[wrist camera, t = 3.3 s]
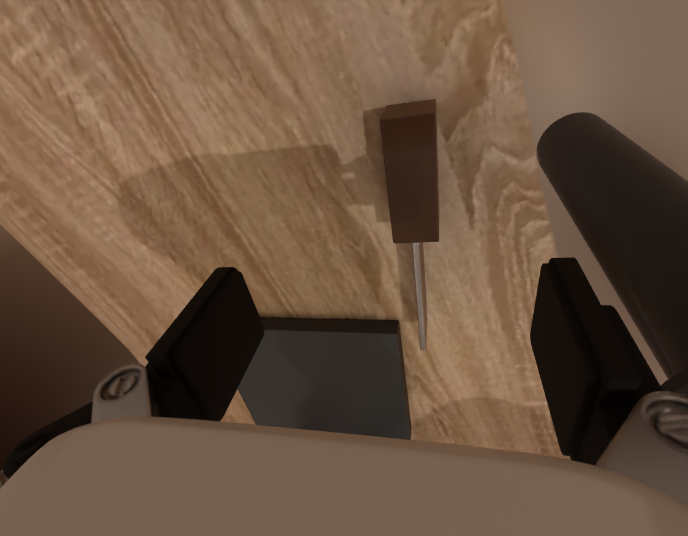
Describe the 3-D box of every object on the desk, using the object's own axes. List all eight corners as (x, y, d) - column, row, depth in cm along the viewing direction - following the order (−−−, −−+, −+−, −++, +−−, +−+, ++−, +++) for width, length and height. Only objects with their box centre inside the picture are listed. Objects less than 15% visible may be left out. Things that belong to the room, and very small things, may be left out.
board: (398, 320, 29) (397, 334, 28) (411, 428, 37) (410, 442, 36) (213, 316, 33) (205, 327, 32) (261, 413, 42) (256, 425, 41)
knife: (387, 105, 20) (379, 119, 18) (436, 98, 19) (435, 112, 17) (407, 320, 29) (404, 349, 26) (441, 321, 28) (441, 351, 26)
